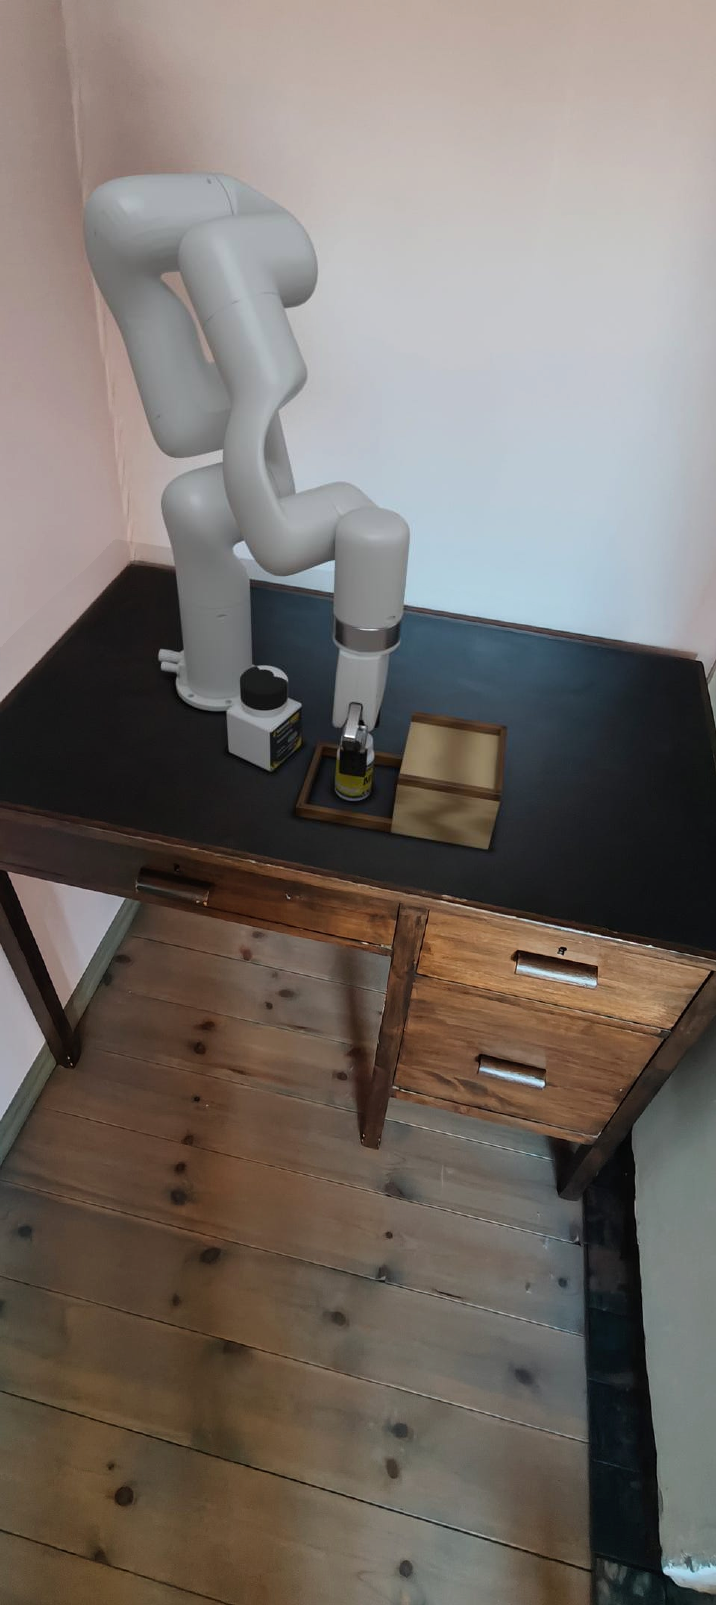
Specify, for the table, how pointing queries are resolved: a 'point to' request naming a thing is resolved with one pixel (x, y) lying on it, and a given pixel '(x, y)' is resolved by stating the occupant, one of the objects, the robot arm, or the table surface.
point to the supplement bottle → (354, 785)
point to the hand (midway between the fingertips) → (359, 749)
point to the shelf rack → (433, 782)
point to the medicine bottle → (264, 718)
